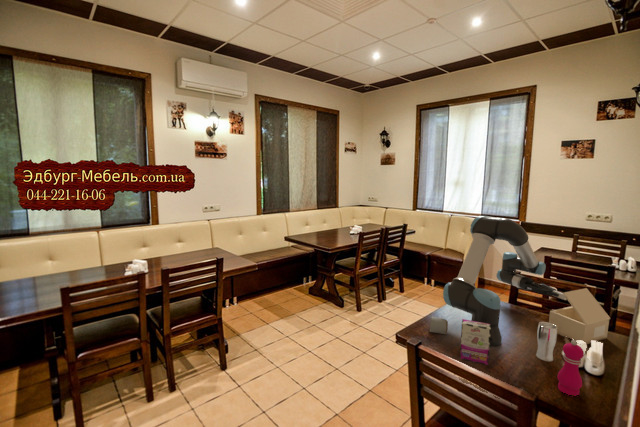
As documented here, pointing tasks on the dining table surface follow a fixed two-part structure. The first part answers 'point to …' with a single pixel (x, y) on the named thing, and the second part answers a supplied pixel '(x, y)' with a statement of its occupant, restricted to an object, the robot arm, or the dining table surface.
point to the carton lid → (586, 306)
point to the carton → (577, 325)
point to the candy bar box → (475, 341)
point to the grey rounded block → (438, 325)
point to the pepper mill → (571, 369)
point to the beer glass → (546, 340)
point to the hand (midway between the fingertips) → (566, 297)
